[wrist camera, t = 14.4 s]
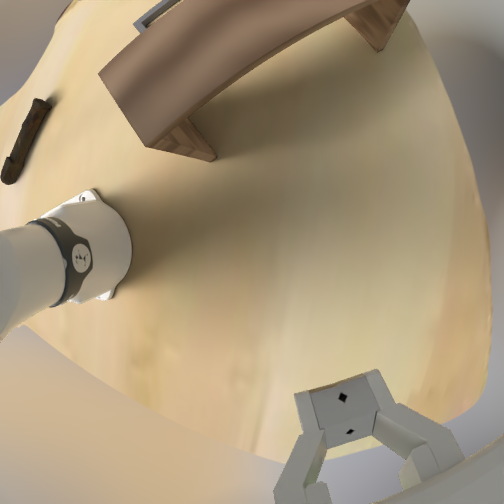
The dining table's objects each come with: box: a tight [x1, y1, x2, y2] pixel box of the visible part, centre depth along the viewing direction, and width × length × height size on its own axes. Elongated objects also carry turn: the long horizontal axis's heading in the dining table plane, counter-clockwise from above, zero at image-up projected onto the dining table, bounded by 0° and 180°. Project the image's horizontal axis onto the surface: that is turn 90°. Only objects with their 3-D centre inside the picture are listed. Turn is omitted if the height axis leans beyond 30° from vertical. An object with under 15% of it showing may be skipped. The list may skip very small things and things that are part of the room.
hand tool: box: [0, 98, 52, 185], centre depth 43 cm, size 19×4×5 cm, turn 139°
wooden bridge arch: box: [98, 0, 410, 162], centre depth 28 cm, size 10×30×18 cm, turn 126°
